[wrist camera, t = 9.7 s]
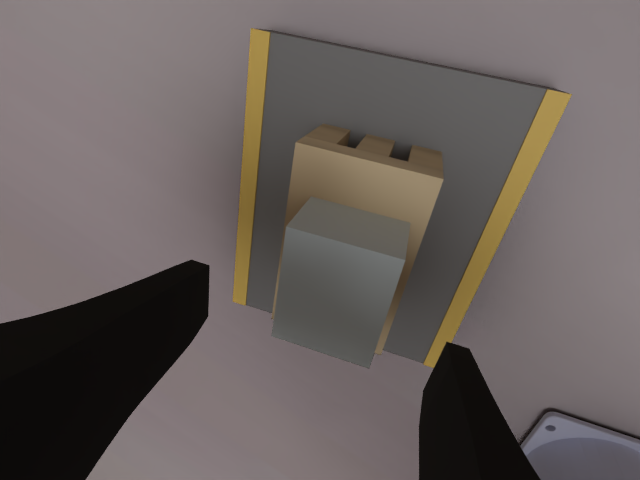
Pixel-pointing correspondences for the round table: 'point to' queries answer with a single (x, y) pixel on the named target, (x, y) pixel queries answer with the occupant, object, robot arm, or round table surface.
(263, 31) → the dock
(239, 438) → the round table surface
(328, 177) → the pallet
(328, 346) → the grey block
